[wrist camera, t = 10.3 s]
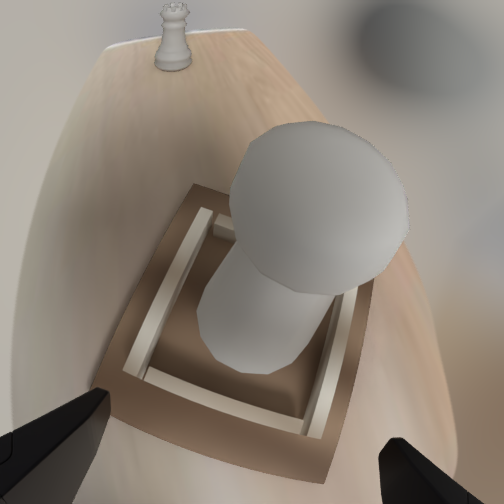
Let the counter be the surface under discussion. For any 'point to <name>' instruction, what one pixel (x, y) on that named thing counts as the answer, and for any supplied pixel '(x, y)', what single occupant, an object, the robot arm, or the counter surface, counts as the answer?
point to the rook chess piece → (173, 39)
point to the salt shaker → (299, 241)
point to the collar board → (220, 375)
